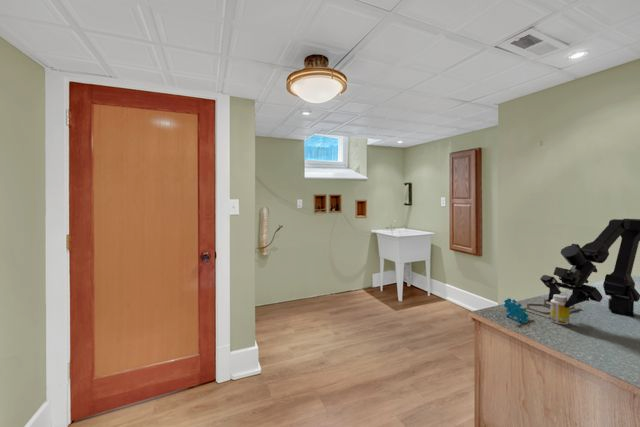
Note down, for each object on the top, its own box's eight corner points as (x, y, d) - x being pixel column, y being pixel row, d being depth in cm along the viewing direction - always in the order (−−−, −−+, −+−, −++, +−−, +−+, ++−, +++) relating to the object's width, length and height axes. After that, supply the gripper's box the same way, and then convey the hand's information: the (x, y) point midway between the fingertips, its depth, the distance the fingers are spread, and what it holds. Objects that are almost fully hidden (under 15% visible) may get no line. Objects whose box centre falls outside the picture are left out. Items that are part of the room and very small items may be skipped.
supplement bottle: (572, 323, 107) (572, 296, 106) (564, 326, 104) (565, 299, 104) (554, 317, 112) (555, 292, 111) (547, 320, 109) (547, 294, 109)
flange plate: (550, 300, 130) (550, 295, 130) (581, 309, 120) (581, 303, 120) (519, 308, 122) (519, 303, 122) (550, 318, 111) (550, 312, 111)
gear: (516, 322, 105) (501, 297, 112) (505, 328, 109) (490, 304, 116) (537, 321, 109) (521, 297, 115) (525, 327, 113) (510, 304, 119)
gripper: (543, 255, 117) (522, 284, 115) (597, 265, 99) (572, 299, 97) (558, 272, 119) (537, 301, 117) (613, 285, 101) (589, 318, 99)
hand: (557, 304), depth 107 cm, fingers closed on supplement bottle, 5 cm apart
